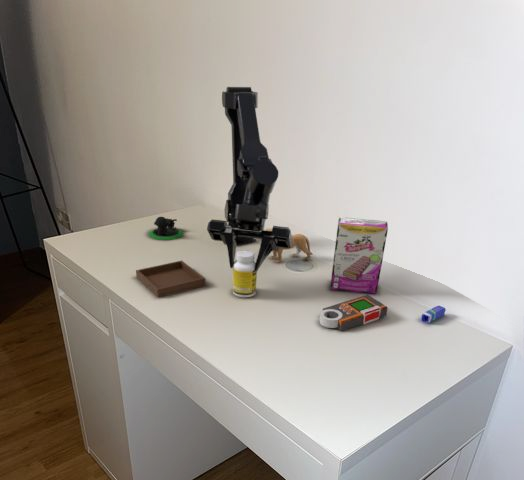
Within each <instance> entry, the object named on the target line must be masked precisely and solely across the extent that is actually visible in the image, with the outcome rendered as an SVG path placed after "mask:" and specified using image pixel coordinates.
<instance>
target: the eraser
mask: <svg viewBox="0 0 524 480" xmlns="http://www.w3.org/2000/svg"><path fill="white" fill-rule="evenodd" d="M445 313H446V307H444V306H442V305H437V306H433V307H432V308H430V309H428V310H426V311H424V312H423V313H422V314H421V319H420V321H422V322H424V323H426V324H430V323H432V322H434V321H435V320H437V319H439V318H442V317H444V315H445Z"/></svg>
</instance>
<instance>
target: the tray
mask: <svg viewBox="0 0 524 480" xmlns="http://www.w3.org/2000/svg"><path fill="white" fill-rule="evenodd" d="M135 276H136V279H137V280H138V281H139V282H140V283H141V284H143V285H144V286H145V288H147V289H148V290H149V291H150V292H151V293H152V294H153V295H155V297H157V298H162V297H166V296H169V295H170V296H171V295H174V294H177V293H182V292H185V291H190V290H194V289H198V288H199V289H200V288H202V287H206V278H205V277H204V276H203V275H202V274H201V273H199V272H198V271H196V270H195V269H194V268H192V267H191V266H190V265H188V264H187V263H186V262H184V261H183V260H178V261H172V262H168V263H163V264H159V265H154V266H149V267H145V268H140V269H136V270H135Z"/></svg>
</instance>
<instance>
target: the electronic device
mask: <svg viewBox="0 0 524 480" xmlns="http://www.w3.org/2000/svg"><path fill="white" fill-rule="evenodd" d="M387 313H388V306H387V305H385V304H384V303H382V302H381V301H379V300H377V299H376V298H375V297H373V296H371V295H370V294H365V295H361V296H358V297H354V298H352V299H349V300H346V301H342V302H339V303H337V304H333V305H330V306H326V307H323V308H322V311H320V313H319V324H320V325H321V326H322V327H324V328H327V329H335V328H336V329H337V330H338V331H340V332H343V331H346V330H349V329H351V328H355V327H357V326H360V325H363V326H364V325H367V324H369V323H373V322H376V321H378V320H380V319H381V318H383V317H386V316H387Z"/></svg>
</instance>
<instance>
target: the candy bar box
mask: <svg viewBox="0 0 524 480" xmlns="http://www.w3.org/2000/svg"><path fill="white" fill-rule="evenodd" d="M337 220H338V221H337V229H336V237H335V245H334V252H333V253H334V254H333V261H332V268H331V276H330V277H331V278H330V290H334V291H344V292H355V293H365V294H372V295H373V294H374V295H376V294H377V293H378V288H379V282H380V276H381V271H382V265H383V259H384V253H385V247H386V241H387V237H388V231H389V228H388V227H389V226H388V225H389V224H388V221H386V220H378V219H377V220H375V219H367V218H366V219H365V218H355V217H354V218H353V217H346V216H345V217H344V216H338V219H337Z"/></svg>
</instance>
